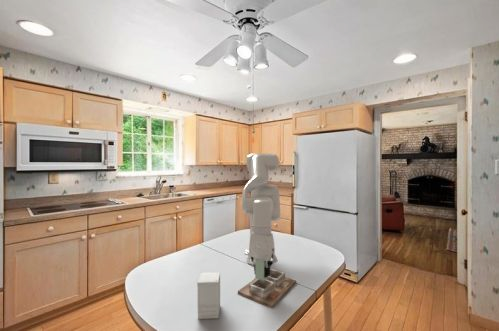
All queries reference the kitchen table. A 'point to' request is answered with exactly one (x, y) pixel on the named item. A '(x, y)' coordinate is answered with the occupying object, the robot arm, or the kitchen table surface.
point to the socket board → (268, 288)
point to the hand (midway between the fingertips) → (262, 274)
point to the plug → (259, 269)
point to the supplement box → (208, 295)
